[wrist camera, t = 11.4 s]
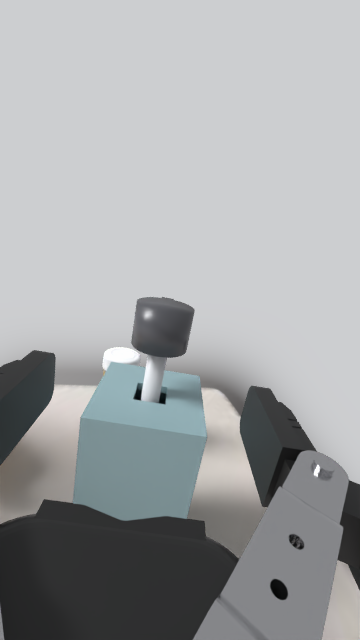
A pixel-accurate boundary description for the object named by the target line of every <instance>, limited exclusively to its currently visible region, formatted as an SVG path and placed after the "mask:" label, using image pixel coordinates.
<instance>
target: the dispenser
mask: <svg viewBox="0 0 360 640" xmlns="http://www.w3.org/2000/svg"><path fill="white" fill-rule="evenodd" d="M145 370H146V367H141V366H135V365H129V364H123V363H117V362H111V363H110V365H109V367H108V369H107V370H106V372H105V374H104V376H103V378H102V380H101V381H100V383H99V385H98V387H97V389H96V390H95V392H94V394H93V396H92V398H91V399H90V401H89V403H88V405H87V407H86V409H85V410H84V412H83V414H82V416H81V419H80V430H79V441H78V452H77V463H76V474H75V485H74V497H73V503H74V504H82V505H86V506H88V507H91V508H93V509H95V510H98V511H100V512H103V513H105V514H107V515H110V516H112V517H115V518H117V519H119V520H124V521H128V520H136V519H145V518H153V517H161V516H170V517H177V518H184V519H187V516H188V512H189V508H190V504H191V500H192V496H193V492H194V488H195V484H196V480H197V476H198V472H199V468H200V463H201V459H202V455H203V451H204V447H205V443H206V439H207V432H206V424H205V416H204V408H203V400H202V392H201V385H200V377H199V376H195V375H189V374H183V373H177V372H171V371H164V376H163V382H162V387H161V393H160V398H159V403H153V402H147V401H141V395H142V388H143V382H144V376H145Z"/></svg>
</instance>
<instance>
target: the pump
mask: <svg viewBox="0 0 360 640" xmlns="http://www.w3.org/2000/svg"><path fill="white" fill-rule="evenodd" d="M193 316H194V309H193V308H192V307H191V306H189V305H187V304H185V303H182V302H178V301H175V300H173V299H170V298H164V297H162V298H154V297H147V298H141V299H138V300H137V305H136V312H135V320H134V326H133V334H132V341H131V343H132V345H133V347H134V348H136V349H137V350H138V351H140V352H143V353H145V354H148V357H147V363H146V370H145V376H144V382H143V388H142V395H141V401H147V402H153V403H159V398H160V393H161V387H162V382H163V376H164V371H165V365H166V360H167V357H168V358H169V357H170V358H171V357H178V356H181V355H183V354H185V353H186V350H187V345H188V340H189V335H190V331H191V325H192V321H193Z"/></svg>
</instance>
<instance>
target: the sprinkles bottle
mask: <svg viewBox="0 0 360 640" xmlns="http://www.w3.org/2000/svg"><path fill="white" fill-rule="evenodd" d="M111 362H117V363H123V364H129V365H135V366H140V355H139V354H138V353H137V352H136V351H134V350H132V349H129V348H122V347H117V348H111V349H108V350H107V351H106V352H105V353H104V358H103V371H104V372H103V376H104V374H105V372H106V370H107V369H108V367H109V365H110V363H111Z"/></svg>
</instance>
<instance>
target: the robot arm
mask: <svg viewBox="0 0 360 640" xmlns="http://www.w3.org/2000/svg"><path fill="white" fill-rule="evenodd" d="M54 376H55V355H54V353H48V352H42V351H36V350H34V351H32V352H31V353H29V354H28V355H27V356H26V357H24V358H23V359H22V360H16V361H13V362H10V363H8V364H5V365H3V366H2V367H0V465H1V464H2V463H3V461H4V460H5V459H6V458H7V456H8V455H9V454H10V453H11V451H12V450H13V449H14V447H15V446H16V445H17V444H18V442H19V441H20V440H21V438H22V437H23V436H24V435H25V433H26V432H27V431H28V430H29V428H30V427H31V426H32V424H33V423H34V422H35V421H36V419H37V418H38V417H39V415H40V414H41V413H42V412H43V410H44V409H45V408H46V406H47V405H48V404H49V402H50V400H51V398H52V395H53V391H54ZM240 434H241V437H242V440H243V444H244V447H245V450H246V454H247V457H248V460H249V464H250V467H251V470H252V474H253V477H254V480H255V484H256V487H257V490H258V494H259V497H260V500H261V504H262V507H268V508H267V510H266V511H265V513H264V515H263V517H262V519H261V521H260V523H259V524H258V526H257V528H256V530H255V532H254V534H253V535H252V537H251V539H250V541H249V543H248V545H247V547H246V548H245V550H244V552H243V554H242V556H241V558H240V559H238V558H237V557H236V556H235V555H234V554H233V553H232V552H230V551H229V550H228V549H227V548H225V547H224V546H222V545H221V544H219V543H218V542H216V541H214V540H212V539H210V538H208V537H206V534H205V522H204V521H199V520H192V519H184V518H177V517H170V516H161V517H153V518H145V519H136V520H128V521H124V520H119V519H117V518H115V517H112V516H110V515H107V514H105V513H103V512H100V511H98V510H95V509H93V508H91V507H88V506H86V505H82V504H74V503H67V502H60V501H52V500H45V499H44V500H43V502H42V504H41V506H40V508H39V510H38V512H37V514H33V515H27V516H23V517H19V518H16V519H13V520H9V521H7V522H4V523H2V524H0V640H322V635H323V630H324V625H325V619H326V614H327V609H328V604H329V599H330V594H331V589H332V584H333V579H334V574H335V569H336V564H337V560H339V561H342V562H344V563H346V564H348V566H349V568H350V570H351V572H352V575H353V577H354V579H355V581H356V583H357V585H358V588H359V590H360V484H357V483H354V482H352V481H349V479H348V475H347V473H346V472H345V470H344V469H343V468H342V467H341V466H340V465H339V464H338V463H337V462H336V461H334V460H333V459H331V458H330V457H328V456H326V455H324V454H322V453H319V452H317V451H316V449H315V448H314V446H313V445H312V443H311V441H310V440H309V438H308V437H307V435H306V434H305V432H304V430H303V429H302V427H301V426H300V424H299V422H297V419H296V418H295V416H294V415H293V413H292V412H291V410H290V409H288V408H287V407H286V406H285V405H284V404H283V403H281V402H278V401H277V400H276V398H275V396H274V394H273V393H272V391H271V389H269V388H263V387H257V386H251V387H250V388H249V391H248V394H247V398H246V401H245V405H244V408H243V412H242V415H241V420H240Z"/></svg>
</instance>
